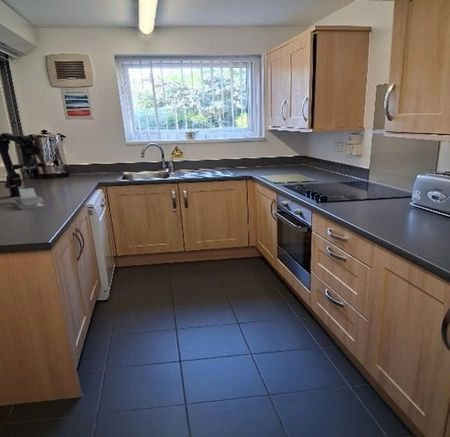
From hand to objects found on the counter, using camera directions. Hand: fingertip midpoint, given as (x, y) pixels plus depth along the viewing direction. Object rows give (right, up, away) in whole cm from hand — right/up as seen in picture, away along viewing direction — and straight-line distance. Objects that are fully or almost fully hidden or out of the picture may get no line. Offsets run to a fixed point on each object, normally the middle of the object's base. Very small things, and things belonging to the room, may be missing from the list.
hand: (30, 178), depth 239 cm
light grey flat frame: (+2, -16, -9) cm, 18 cm away
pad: (+12, -19, -22) cm, 32 cm away
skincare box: (+6, -11, -16) cm, 20 cm away
